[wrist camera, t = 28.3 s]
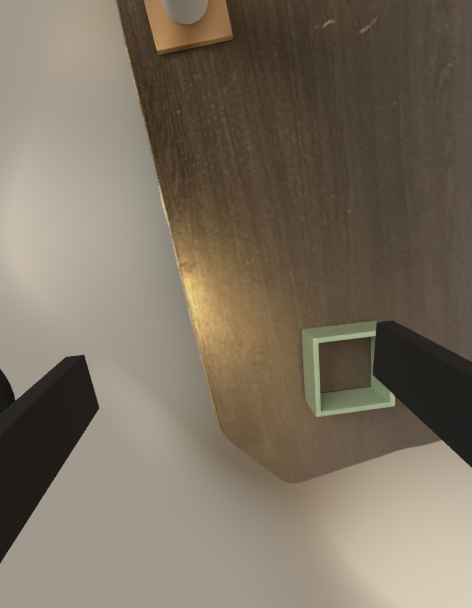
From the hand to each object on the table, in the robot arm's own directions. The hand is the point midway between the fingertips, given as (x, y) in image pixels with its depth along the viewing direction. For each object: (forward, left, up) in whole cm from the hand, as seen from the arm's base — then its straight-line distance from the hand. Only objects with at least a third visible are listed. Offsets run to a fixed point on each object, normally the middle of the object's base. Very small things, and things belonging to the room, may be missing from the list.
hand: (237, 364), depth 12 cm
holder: (+22, -9, -29) cm, 37 cm away
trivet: (-10, +36, -29) cm, 47 cm away
